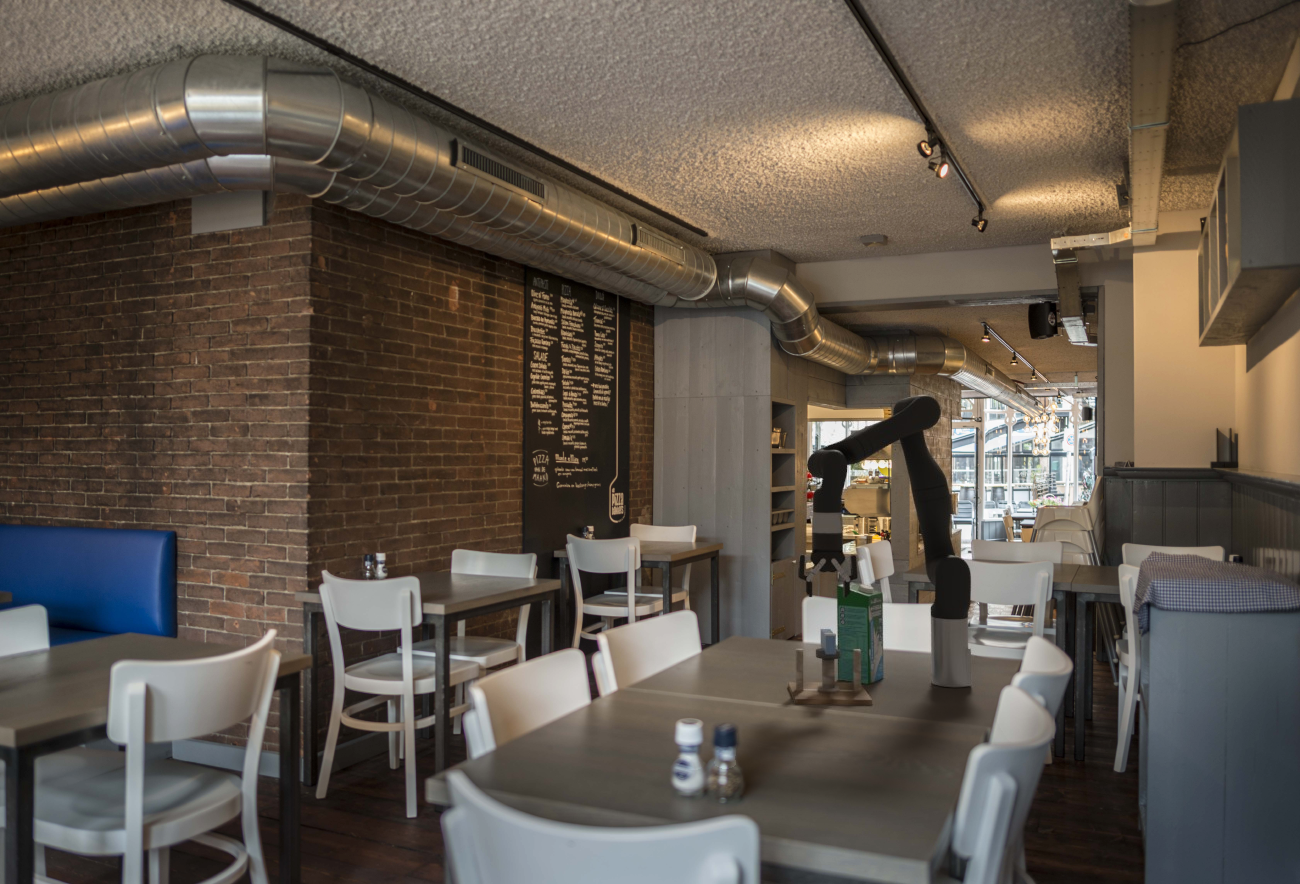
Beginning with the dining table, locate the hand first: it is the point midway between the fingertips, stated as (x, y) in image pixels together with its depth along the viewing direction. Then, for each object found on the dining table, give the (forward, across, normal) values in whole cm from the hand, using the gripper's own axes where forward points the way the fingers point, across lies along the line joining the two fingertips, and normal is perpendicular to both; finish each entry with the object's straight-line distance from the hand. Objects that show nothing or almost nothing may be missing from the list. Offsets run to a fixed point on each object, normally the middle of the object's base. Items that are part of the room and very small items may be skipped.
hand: (827, 596), depth 230 cm
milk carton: (+24, -11, -19) cm, 33 cm away
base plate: (+24, 0, 0) cm, 24 cm away
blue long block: (+15, 0, 0) cm, 15 cm away
